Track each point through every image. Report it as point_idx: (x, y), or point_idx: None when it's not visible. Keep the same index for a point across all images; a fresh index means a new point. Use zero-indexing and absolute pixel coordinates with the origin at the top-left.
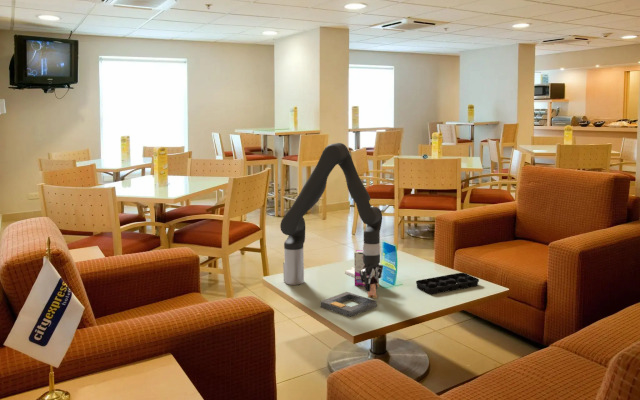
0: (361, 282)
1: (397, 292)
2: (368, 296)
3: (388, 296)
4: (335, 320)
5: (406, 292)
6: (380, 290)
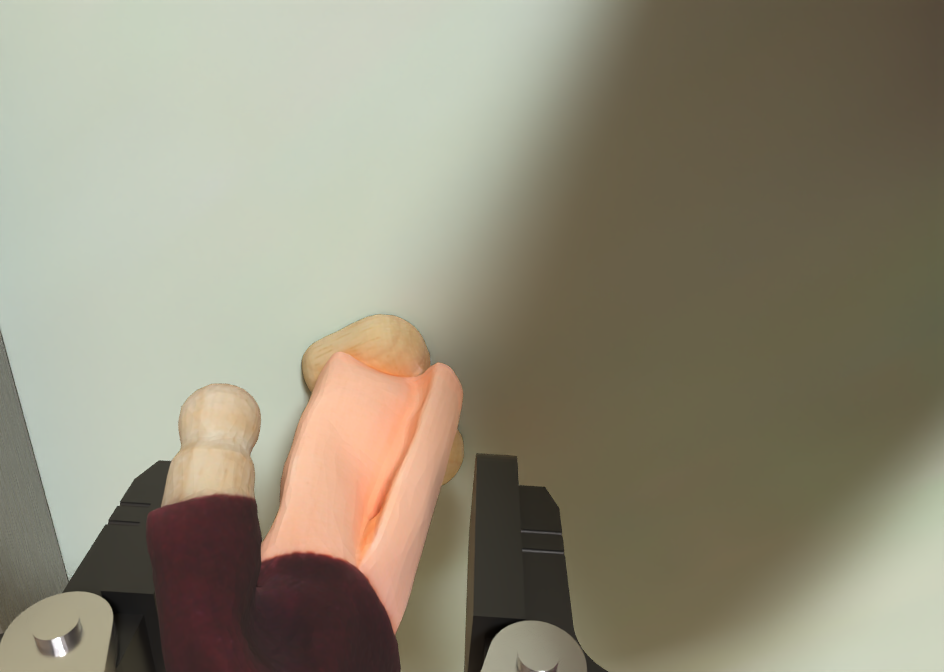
0: None
1: (872, 585)
2: (306, 376)
3: (595, 577)
4: None
5: (939, 669)
6: (836, 321)
